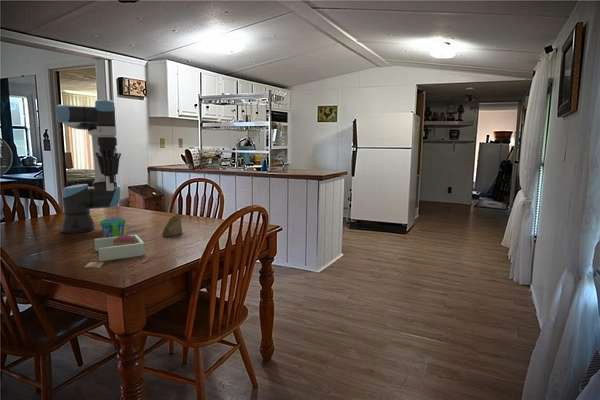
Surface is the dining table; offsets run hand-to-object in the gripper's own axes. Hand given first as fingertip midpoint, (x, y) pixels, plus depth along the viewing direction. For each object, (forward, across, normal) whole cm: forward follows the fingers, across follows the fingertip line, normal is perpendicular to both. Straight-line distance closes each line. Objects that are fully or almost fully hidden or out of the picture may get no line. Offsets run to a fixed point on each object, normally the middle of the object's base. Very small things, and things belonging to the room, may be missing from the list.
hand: (110, 190), depth 175 cm
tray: (+24, +14, -10) cm, 30 cm away
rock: (+25, +12, +25) cm, 37 cm away
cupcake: (+25, +15, -8) cm, 30 cm away
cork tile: (+25, +19, -26) cm, 41 cm away
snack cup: (+25, -3, +3) cm, 25 cm away
